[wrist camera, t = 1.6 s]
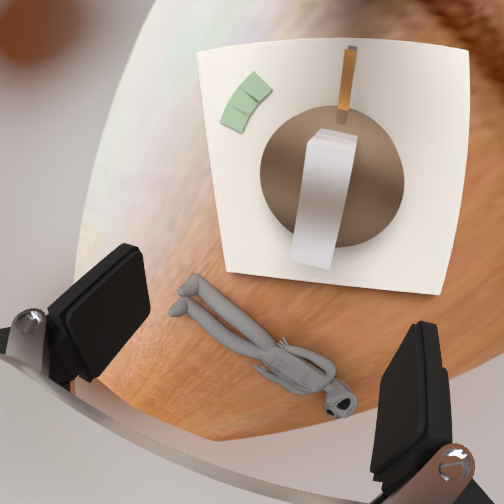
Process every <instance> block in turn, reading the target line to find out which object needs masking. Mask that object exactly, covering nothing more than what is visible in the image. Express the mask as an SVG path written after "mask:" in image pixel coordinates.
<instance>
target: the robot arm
mask: <svg viewBox="0 0 504 504" xmlns="http://www.w3.org/2000/svg"><path fill="white" fill-rule="evenodd" d="M150 309H151V308H150V301H149V295H148V289H147V282H146V276H145V269H144V262H143V255H142V253H141V252H140V250H139V248H138V247H136V246H133V245H129V244H126V243H123V244H121V245H120V246H118V247H117V248H116V249H115V250H114V251H112V252H111V253H110V254H109V255H107V256H106V257H105V258H104V259H103V260H101V261H100V262H99V263H98V264H97V265H96V266H94V267H93V268H92V269H91V270H90V271H88V272H87V273H86V274H85V275H84V276H83V277H82V278H80V279H79V280H78V281H77V282H76V283H75V284H74V285H72V286H71V287H70V288H69V289H68V290H67V291H66V292H65V293H64V294H62V295H61V296H60V297H59V298H58V299H57V300H56V301H55V302H54V303H53V304H51V305H50V306H49V307H48V312H49V314H48V315H47V316H46V315H45V313H44V312H43V311H42V310H41V309H37V308H31V309H27V310H24V311H22V312H21V313H19V314H18V315H17V316H16V317H15V319H14V320H13V322H12V325H11V327H8V328H3V329H0V504H367V503H362V502H357V501H350V500H345V499H339V498H333V497H328V496H323V495H318V494H314V493H309V492H305V491H301V490H296V489H292V488H288V487H284V486H280V485H276V484H272V483H269V482H265V481H262V480H259V479H255V478H252V477H249V476H246V475H242V474H239V473H236V472H233V471H230V470H227V469H225V468H222V467H219V466H216V465H214V464H211V463H208V462H206V461H203V460H201V459H198V458H195V457H193V456H190V455H188V454H186V453H183V452H181V451H179V450H176V449H174V448H172V447H169V446H167V445H165V444H163V443H161V442H159V441H156V440H154V439H152V438H150V437H148V436H146V435H144V434H142V433H140V432H138V431H136V430H134V429H132V428H130V427H128V426H127V425H125V424H123V423H121V422H119V421H117V420H115V419H114V418H112V417H110V416H108V415H106V414H105V413H103V412H101V411H100V410H98V409H96V408H94V407H92V406H91V405H89V404H88V403H86V402H84V401H83V400H81V399H80V398H78V397H76V395H75V378H76V377H77V375H79V377H81V378H83V379H84V380H86V381H87V382H89V383H90V382H91V381H92V380H93V379H94V378H97V377H99V376H100V375H101V373H102V372H103V371H104V370H105V368H106V367H107V366H108V365H109V363H110V362H111V361H112V360H113V358H114V357H115V356H116V355H117V353H118V352H119V351H120V350H121V349H122V347H123V346H124V345H125V344H126V342H127V341H128V340H129V339H130V338H131V336H132V335H133V334H134V333H135V332H136V330H137V329H138V328H139V327H140V326H141V324H142V323H143V322H144V321H145V320H146V318H147V317H148V316H149V314H150ZM474 470H475V462H474V458H473V456H472V454H471V452H470V451H469V450H468V449H467V448H466V447H464V446H463V445H460V444H457V443H454V444H453V443H452V418H451V403H450V390H449V380H448V373H447V370H446V368H443V367H442V359H441V351H440V344H439V337H438V330H437V326H436V324H433V323H429V322H424V321H419V322H418V323H417V324H412V325H411V327H410V329H409V330H408V332H407V334H406V336H405V338H404V340H403V342H402V343H401V345H400V347H399V349H398V350H397V352H396V354H395V356H394V357H393V359H392V361H391V362H390V364H389V366H388V368H387V369H386V371H385V372H384V374H383V376H382V379H381V382H380V392H379V403H378V413H377V422H376V431H375V439H374V446H373V453H372V460H371V466H370V472H371V473H374V477H373V481H378V482H383V483H382V489H381V490H382V491H383V492H382V493H381V494H380V495H378V496H377V497H376V498H375V499H374V500H372V501H371V502H370V503H369V504H494V503H493V502H492V500H491V499H490V498H489V497H488V496H487V495H486V493H485V492H484V491H483V490H482V489H481V488H480V487H479V485H478V484H477V483H476V482H475V481H474V480H473V478H472V477H473V475H474Z"/></svg>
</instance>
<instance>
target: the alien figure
mask: <svg viewBox="0 0 504 504" xmlns="http://www.w3.org/2000/svg"><path fill="white" fill-rule="evenodd" d="M196 293H197V294H198V295H199V296H200V297H201V298H202V299H203V301H204V302H205V303H206V304H207V305H208V306H209V307H210V308H211V309H213V310H214V311H215V312H216V313H217V314H218V315H219V316H221V317H222V318H223V319H224V320H225V321H227V322H228V323H229V324H230V325H232V326H233V327H234V328H236V329H237V330H238V331H239V332H241V333H242V334H243V335H244V336H246V337H247V338H248V339H249V340H250V341H248V340H246V339H244V338H242V337H240V336H238V335H236V334H235V333H233V332H232V331H230V330H229V329H228V328H227V327H225V326H224V325H223V324H222V323H221V322H220V321H218V320H217V319H216V318H215V317H214V316H213V315H212V314H210V313H209V312H208V311H207V310H206V309H205V308H203V307H202V306H201V305H200V304H198V303H197V302H196V301H194V300H193V299H191V298H189V297H191V296H193V295H195V294H196ZM178 294H179V295H180V296H181V297H180V298H179V299H178V301H177V302H176V303H174V304H173V306H172V307H171V308H170V309H169V311H168V314H169V316H171V317H179V316H182V315H184V314H185V313H188V314H189V315H190V316H191V317H192V318H193V319H194V320H195V321H196V322H197V323H198V324H199V325H200V326H201V327H202V328H203V329H204V330H205V331H206V332H207V333H209V334H210V335H211V336H212V337H213V338H214V339H215V340H217V341H218V342H219V343H221V344H222V345H223V346H225V347H227V348H228V349H230V350H232V351H234V352H236V353H238V354H241V355H243V356H246V357H250V358H254V359H259V360H260V361H261V362H262V363H263V364H264V365H265V366H266V367H267V368H269V369H270V370H271V371H272V372H273V373H272V372H270V371H268V370H266V369H265V368H264V367H263V366H261V368H260V367H259V366H258V365H257V364H255V365H256V366H257V367H256V366H255V365H254V366H253V368H254V369H256V370H257V371H259V372H260V373H261V375H262V376H263V377H265V378H266V379H268V380H269V381H272V382H275V383H278V384H280V385H281V386H283V387H284V388H285V389H287V390H288V391H290V392H292V393H294V394H297V395H308V394H311V393H315V392H319V391H321V390H323V391H325V392H326V396H325V400H324V405H323V409H324V411H325V413H326V414H328V415H329V416H331V417H334V418H335V419H339V417H342V418H347V417H349V416H351V415H352V414H353V412H354V411H355V409H356V407H357V398H356V396H355V395H354V393H353V392H352V391H351V389H350V388H349V387H348V386H347V385H346V384H345V383H344V382H343V381H342V380H340V379H338V378H335V375H336V372H337V370H336V366H335V364H334V363H333V362H332V361H331V360H329V359H328V358H326V357H324V356H322V355H320V354H318V353H315V352H313V351H310V350H308V349H305V348H302V347H298V346H293V345H289V344H288V343H287V341H286V340H285V338H284V337H283V340H284V342H285V343H286V345H285V344H284V343H283V342H282V341H281V340H280V341H279V342H280V343H281V344H282V345H283V346H282V345H281V344H280V343H276V341H275V340H274V339H273V338H272V337H271V336H270V335H269V334H268V333H267V332H266V331H265V330H264V329H263V328H262V327H261V326H260V325H259V324H258V323H257V322H256V321H254V320H253V319H252V318H251V317H250V316H248V315H247V314H246V313H245V312H244V311H242V310H241V309H240V308H238V307H237V306H236V305H235V304H233V303H232V302H231V301H230V300H228V299H227V298H226V297H225V296H223V295H222V294H221V293H220V292H219V291H218V290H217V289H215V288H214V287H213V286H212V285H211V284H210V283H209V282H208V281H206V280H205V279H204V278H203V277H202V276H200V275H198V274H192V275H191V276H190V277H189V279H188V280H187V281H186V282H185V283H184V284H183V285H182V286H181V287H180V288H179V289H178ZM251 341H252V342H251ZM302 357H303V358H302ZM304 358H306V359H309V360H310V361H312V362H313V363H315V364H316V365H317V366H319V367H320V368H322V369H323V370H324V371H325V372H324V371H323V370H321V369H319V368H318V367H316V366H315V365H313V364H312V363H310V362H309V361H307V360H305V359H304Z"/></svg>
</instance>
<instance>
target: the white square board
mask: <svg viewBox="0 0 504 504" xmlns="http://www.w3.org/2000/svg"><path fill="white" fill-rule="evenodd" d="M345 49H349V50H354V51H356V58H355V66H354V74H353V82H352V90H351V97H350V104H349V108H350V109H353V110H356V111H358V112H361V113H363V114H365V115H366V116H368V117H370V118H371V119H373V120H374V121H375V122H377V123H378V124H379V125H380V126H381V127H382V128H383V129H384V130H385V131H386V133H387V134H388V135H389V137H390V138H391V139H392V141H393V143H394V145H395V147H396V149H397V152H398V154H399V157H400V159H401V162H402V166H403V171H404V181H405V183H404V193H403V198H402V202H401V205H400V207H399V210H398V212H397V214H396V215H395V217H394V219H393V220H392V221H391V223H390V224H389V225H388V226H387V227H386V228H385V229H384V230H383V231H382V232H381V233H379V234H378V235H377V236H375V237H373V238H372V239H370V240H368V241H366V242H363V243H361V244H358V245H354V246H349V247H338V248H334V252H333V257H332V260H331V264H330V268H329V270H327V269H323V268H319V267H315V266H311V265H307V264H303V263H299V262H295V261H292V260H290V254H291V248H292V242H293V236H294V234H293V233H291V232H290V231H289V230H287V229H286V228H285V227H284V226H283V225H282V224H281V223H280V222H279V221H278V220H277V219H276V217H275V216H274V215H273V213H272V212H271V210H270V209H269V207H268V205H267V203H266V201H265V198H264V195H263V192H262V188H261V182H260V164H261V158H262V155H263V152H264V149H265V147H266V145H267V143H268V141H269V139H270V138H271V136H272V135H273V134H274V132H275V131H276V130H277V129H278V128H279V127H280V126H281V125H282V124H284V123H285V122H286V121H287V120H289V119H291V118H292V117H294V116H296V115H298V114H300V113H302V112H304V111H306V110H309V109H312V108H316V107H322V106H338V100H339V92H340V85H341V77H342V68H343V60H344V51H345ZM196 53H197V62H198V71H199V79H200V88H201V96H202V104H203V112H204V120H205V127H206V135H207V143H208V150H209V157H210V165H211V172H212V179H213V186H214V193H215V200H216V206H217V213H218V220H219V226H220V233H221V240H222V246H223V252H224V259H225V265H226V271H227V272H234V273H242V274H250V275H258V276H266V277H275V278H283V279H291V280H300V281H308V282H317V283H326V284H335V285H344V286H353V287H363V288H372V289H382V290H392V291H402V292H412V293H422V294H433V295H440V293H441V290H442V286H443V283H444V279H445V275H446V271H447V268H448V264H449V259H450V255H451V251H452V247H453V242H454V237H455V232H456V227H457V222H458V217H459V211H460V205H461V199H462V192H463V185H464V178H465V169H466V160H467V149H468V135H469V114H470V73H469V53H468V51H467V50H462V49H457V48H452V47H446V46H440V45H433V44H426V43H418V42H410V41H400V40H388V39H372V38H306V39H289V40H277V41H266V42H257V43H249V44H242V45H235V46H228V47H222V48H216V49H211V50H205V51H200V52H196Z"/></svg>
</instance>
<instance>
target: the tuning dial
mask: <svg viewBox="0 0 504 504" xmlns="http://www.w3.org/2000/svg"><path fill="white" fill-rule="evenodd" d="M355 58H356V51H354V50H349V49H345V51H344V60H343V68H342V77H341V85H340V92H339V100H338V106H322V107H316V108H312V109H309V110H306V111H304V112H302V113H300V114H298V115H296V116H294V117H292V118H291V119H289V120H287V121H286V122H285V123H284V124H282V125H281V126H280V127H279V128H278V129H277V130H276V131H275V132H274V134H273V135H272V136H271V138H270V139H269V141H268V143H267V145H266V147H265V149H264V152H263V155H262V158H261V164H260V182H261V188H262V192H263V195H264V198H265V201H266V203H267V205H268V207H269V209H270V210H271V212H272V213H273V215H274V216H275V217H276V219H277V220H278V221H279V222H280V223H281V224H282V225H283V226H284V227H285V228H286V229H287V230H289V231H290V232H291V233H293V234H294V236H293V242H292V248H291V254H290V260H292V261H295V262H299V263H303V264H307V265H311V266H315V267H319V268H323V269H327V270H329V268H330V264H331V260H332V257H333V252H334V248H338V247H349V246H354V245H358V244H361V243H363V242H366V241H368V240H370V239H372V238H373V237H375V236H377V235H378V234H379V233H381V232H382V231H383V230H384V229H385V228H386V227H387V226H388V225H389V224H390V223H391V221H392V220H393V219H394V217H395V215H396V214H397V212H398V210H399V207H400V205H401V202H402V198H403V193H404V183H405V181H404V171H403V166H402V162H401V159H400V157H399V154H398V152H397V149H396V147H395V145H394V143H393V141H392V139H391V138H390V137H389V135H388V134H387V133H386V131H385V130H384V129H383V128H382V127H381V126H380V125H379V124H378V123H377V122H375V121H374V120H373V119H371V118H370V117H368V116H366V115H365V114H363V113H361V112H358V111H356V110H353V109H350V108H349V104H350V97H351V90H352V82H353V74H354V66H355Z"/></svg>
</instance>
